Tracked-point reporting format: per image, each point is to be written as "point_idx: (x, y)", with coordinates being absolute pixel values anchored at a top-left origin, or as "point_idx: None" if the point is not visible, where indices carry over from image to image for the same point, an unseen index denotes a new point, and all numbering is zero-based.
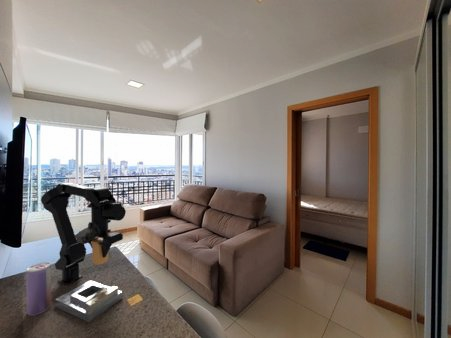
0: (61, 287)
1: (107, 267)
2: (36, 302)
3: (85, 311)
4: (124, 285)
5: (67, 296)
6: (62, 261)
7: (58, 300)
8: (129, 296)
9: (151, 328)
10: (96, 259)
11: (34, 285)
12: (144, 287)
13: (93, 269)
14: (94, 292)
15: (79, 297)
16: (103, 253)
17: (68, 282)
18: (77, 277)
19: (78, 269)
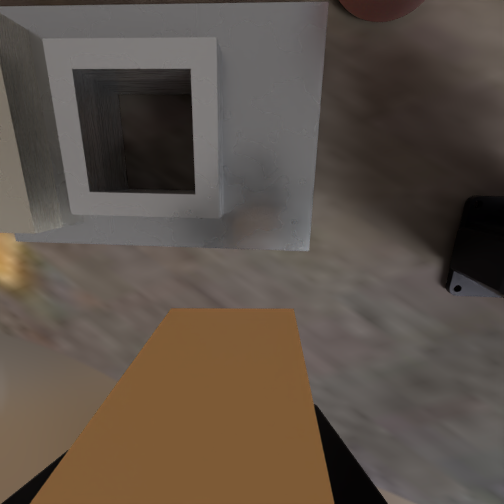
0: (474, 167)
1: (382, 399)
2: None
3: (8, 16)
4: (135, 310)
5: (273, 64)
6: None
7: (289, 4)
8: (31, 255)
9: None
10: (207, 343)
11: None
12: (33, 330)
13: (450, 362)
14: (187, 191)
15: (124, 50)
16: (50, 467)
17: (471, 209)
18: (455, 260)
19: (496, 287)
